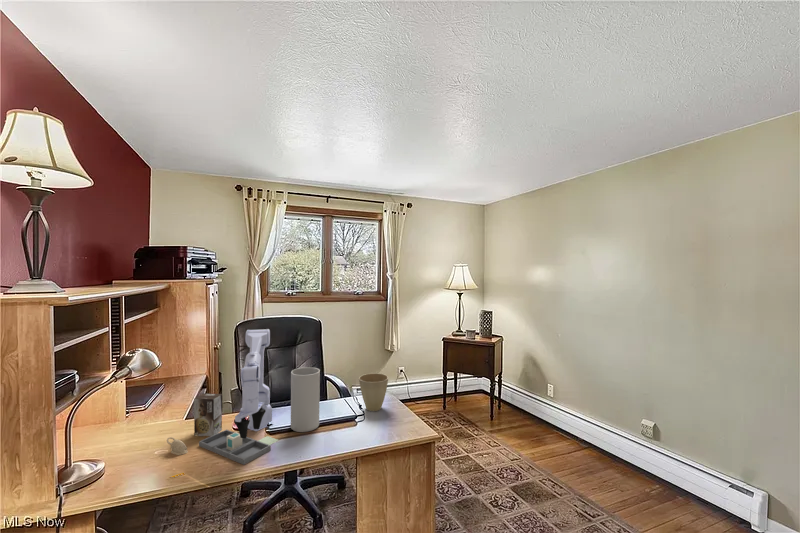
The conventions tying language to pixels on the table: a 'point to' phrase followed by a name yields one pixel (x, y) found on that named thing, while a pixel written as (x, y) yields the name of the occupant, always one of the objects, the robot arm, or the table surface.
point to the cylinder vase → (305, 399)
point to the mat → (268, 440)
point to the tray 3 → (249, 452)
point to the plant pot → (373, 390)
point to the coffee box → (207, 414)
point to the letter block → (234, 441)
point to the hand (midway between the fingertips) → (250, 433)
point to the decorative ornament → (177, 447)
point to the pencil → (176, 475)
